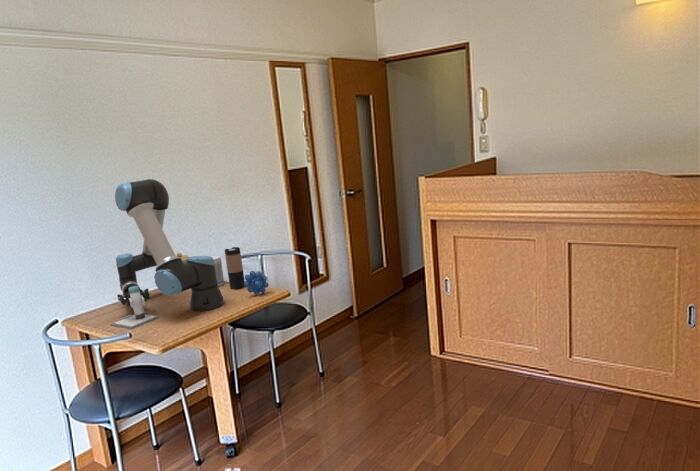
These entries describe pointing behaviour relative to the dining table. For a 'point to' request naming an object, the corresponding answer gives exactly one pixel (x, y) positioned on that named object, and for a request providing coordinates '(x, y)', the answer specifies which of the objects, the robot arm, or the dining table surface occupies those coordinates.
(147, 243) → the robot arm
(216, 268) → the supplement tub
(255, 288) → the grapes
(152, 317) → the light grey flat square
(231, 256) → the travel mug
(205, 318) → the dining table surface
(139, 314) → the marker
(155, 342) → the dining table surface
